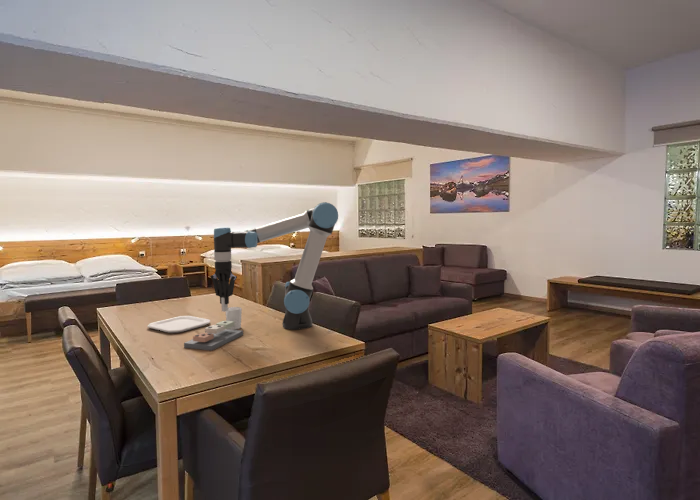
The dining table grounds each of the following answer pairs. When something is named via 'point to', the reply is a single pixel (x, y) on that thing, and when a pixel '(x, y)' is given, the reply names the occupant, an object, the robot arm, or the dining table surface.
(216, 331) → the tile two
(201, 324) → the plate
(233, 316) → the white cup
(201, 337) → the tile three
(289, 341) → the dining table surface
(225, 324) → the tile one
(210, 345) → the board
